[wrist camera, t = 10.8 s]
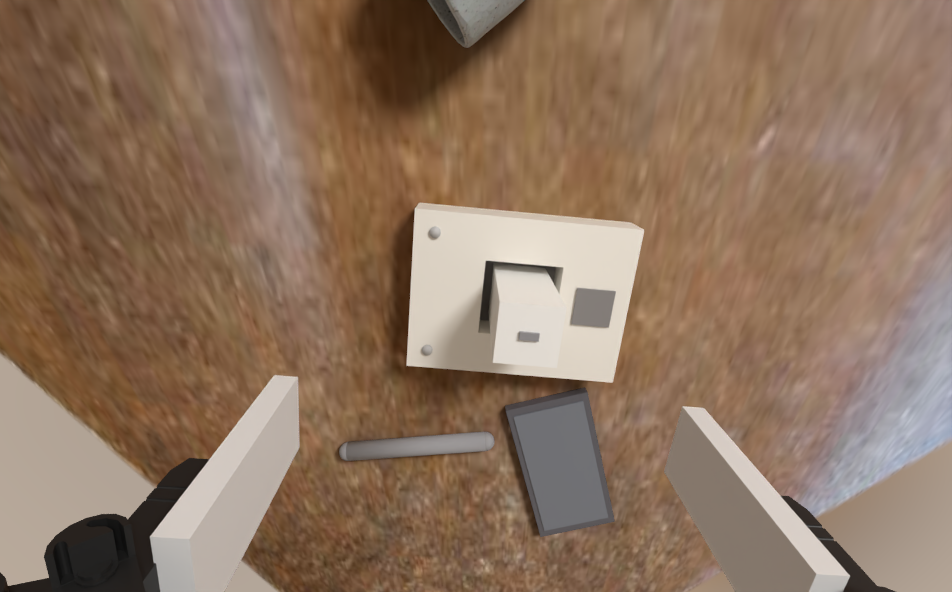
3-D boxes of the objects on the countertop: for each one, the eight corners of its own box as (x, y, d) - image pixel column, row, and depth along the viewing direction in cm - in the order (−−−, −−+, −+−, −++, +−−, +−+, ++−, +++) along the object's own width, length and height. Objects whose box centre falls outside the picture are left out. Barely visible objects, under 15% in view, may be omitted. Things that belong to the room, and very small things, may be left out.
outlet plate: (411, 349, 39) (406, 366, 36) (419, 202, 36) (414, 208, 33) (602, 364, 40) (613, 383, 37) (630, 222, 36) (645, 230, 33)
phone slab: (539, 530, 45) (540, 537, 45) (505, 405, 41) (505, 411, 40) (612, 514, 45) (614, 522, 44) (585, 387, 41) (587, 392, 40)
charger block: (488, 311, 38) (492, 364, 29) (493, 263, 37) (500, 302, 28) (538, 316, 38) (557, 369, 29) (545, 268, 37) (567, 308, 28)
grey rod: (343, 453, 43) (338, 465, 41) (340, 438, 42) (335, 449, 41) (494, 442, 43) (495, 454, 41) (493, 427, 42) (494, 438, 41)
